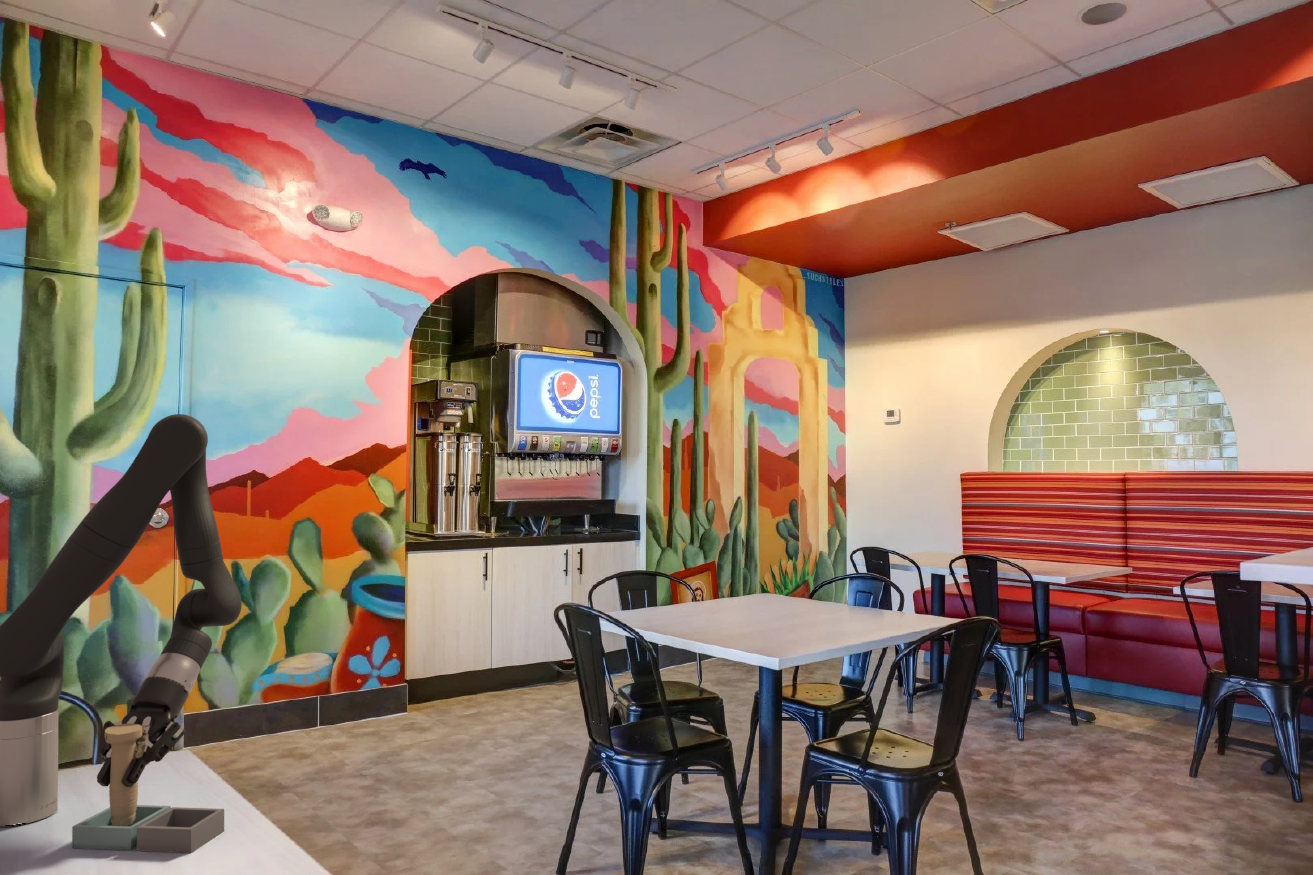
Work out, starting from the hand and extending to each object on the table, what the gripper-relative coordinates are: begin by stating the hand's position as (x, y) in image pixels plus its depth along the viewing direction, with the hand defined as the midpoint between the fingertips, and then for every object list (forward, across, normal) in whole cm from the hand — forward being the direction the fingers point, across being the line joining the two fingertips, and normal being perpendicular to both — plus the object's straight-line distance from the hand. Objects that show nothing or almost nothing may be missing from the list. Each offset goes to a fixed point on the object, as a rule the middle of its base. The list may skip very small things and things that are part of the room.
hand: (114, 784), depth 136 cm
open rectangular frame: (+5, +10, +7) cm, 14 cm away
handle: (+4, 0, +6) cm, 7 cm away
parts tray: (+5, 0, +8) cm, 9 cm away
